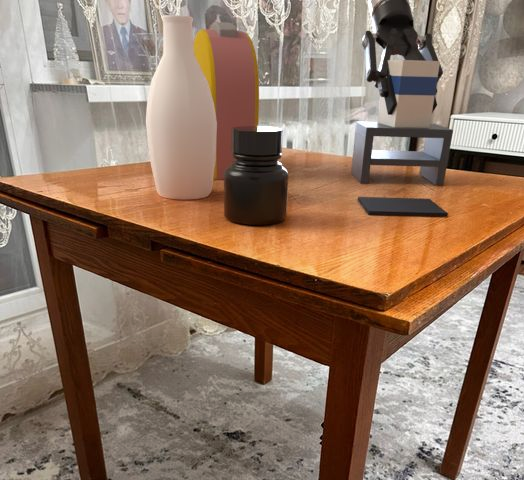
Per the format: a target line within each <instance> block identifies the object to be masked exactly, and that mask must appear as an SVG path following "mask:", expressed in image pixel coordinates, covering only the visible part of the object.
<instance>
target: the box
mask: <svg viewBox="0 0 524 480" xmlns="http://www.w3.org/2000/svg"><path fill="white" fill-rule="evenodd" d="M388 64H389V65H388V70H387V74H386V77H387V75H391V78H392V82H393V87H394V92H395V96H396V101H397V106H396V108H395V110H394V111H393V113H392V115H388V112H387V108H386V103H385V98H384V97H381V96H380V95H379V103H378V113H377V120H376V122H377V123H380V124H383V125H387V126H391V127H394V128H430V124H431V121H432V114H433V113H432V109H433V103H434V97H436V95H435V93H436V87H438V86H437V85H438V83H437V81H438V72H439V65H441V61H440V60H439V61H415V60H405V59H390V60H388ZM438 82H439V81H438ZM436 94H437V93H436Z"/></svg>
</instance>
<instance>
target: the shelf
mask: <svg viewBox="0 0 524 480" xmlns="http://www.w3.org/2000/svg"><path fill="white" fill-rule="evenodd" d="M453 134H454V129H452V128H449V127H445V126H443V125H441V124H440V125H439V124H437V123H430V128H394V127H391V126H387V125H383V124H380V123H377V121H358V120H356V121H355V128H354V139H353V148H352V160H351V168H350V169H351V170H350V173H351V174H352V176H354V178H355V179H356V180H357V181H358V183H359V184H365V185H366V184H369V181H370V171H371V166H388V167H389V166H390V167H419V172H418V173H419V174H418V175H420V176H421V177H423V178H424V179H426V180H427V181H429V182H430V183H431V184H433V185H435V186H442V187H443V186H444V183H445V179H446V173H447V167H448V163H449V155H450V150H451V145H452V140H453V139H452V138H453ZM374 137H382V138H383V137H385V138H387V137H389V138H418V139H420V138H421V139H423V138H424V143H423V149H422V150H421V151H420V150H419V151H418V150H416V151H415V150H387V149H386V150H381V149H373V147H374V145H373V144H374Z"/></svg>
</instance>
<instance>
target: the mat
mask: <svg viewBox="0 0 524 480" xmlns="http://www.w3.org/2000/svg"><path fill="white" fill-rule="evenodd" d="M357 202H358V203H359V204H360V206H361V207H362V208H363V209H364V211H365V212H366V214H367V215H368V216H391V217H392V216H394V217H395V216H397V217H432V218H433V217H435V218H438V217H439V218H447V217H448V216H449V212H447V211H446V210H445V209H443V208H442V207H441V206H440V205H438V204H437V203H435V201H433V200H432V199H431V198H421V197H420V198H419V197H416V198H415V197H385V196H358V197H357Z"/></svg>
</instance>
